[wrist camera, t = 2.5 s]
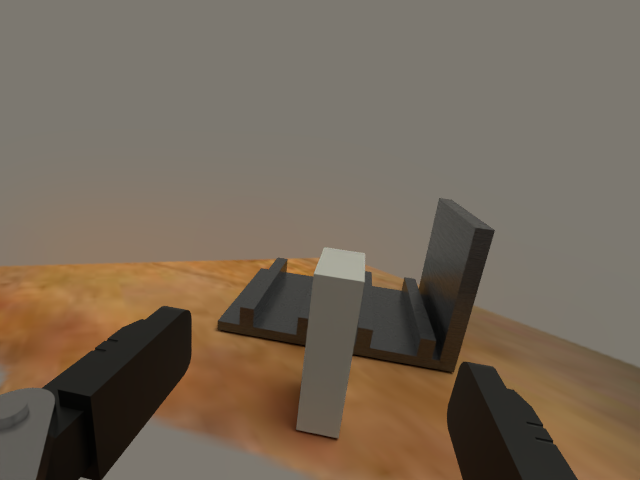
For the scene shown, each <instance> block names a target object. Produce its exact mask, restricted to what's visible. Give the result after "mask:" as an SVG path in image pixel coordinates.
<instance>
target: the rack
mask: <svg viewBox="0 0 640 480" xmlns="http://www.w3.org/2000/svg"><path fill="white" fill-rule="evenodd" d="M494 231H495V230H494V229H492V228H491V227H489V226H488V225H487V224H485V223H484V222H482V221H481V220H479V219H478V218H477V217H475V216H474V215H472V214H471V213H469V212H468V211H467V210H465V209H464V208H462V207H461V206H459V205H458V204H457V203H455V202H454V201H452V200H449V199H441V198H439V202H438V206H437V211H436V215H435V219H434V224H433V228H432V233H431V238H430V242H429V246H428V250H427V255H426V259H425V263H424V268H423V272H422V277H421V281H420V286H419V289H418V286H417V283H416V280H415V279H411V278H404V282H403V287H402V291H400V290H393V289H387V288H381V287H375V286H372V275H371V272H367V271H365V283H364V289H363V295H362V301H361V307H360V313H359V319H358V325H357V330H356V336H355V342H354V348H353V354H356V355H361V356H367V357H372V358H378V359H383V360H389V361H394V362H400V363H405V364H411V365H416V366H422V367H427V368H433V369H438V370H444V371H449V372H454V370H455V366H456V363H457V359H458V356H459V352H460V349H461V345H462V342H463V339H464V335H465V332H466V328H467V325H468V321H469V318H470V314H471V311H472V307H473V304H474V300H475V297H476V294H477V290H478V286H479V283H480V279H481V276H482V272H483V269H484V266H485V262H486V259H487V255H488V252H489V249H490V245H491V242H492V238H493V234H494ZM286 271H287V259H283V258H277V259H276V260H275V262H274V263H273V264H272V266H271V267H270V268H269V270H268V269H262V268H261V269H260V270H259V272H258V273H257V274H256V275H255V277H254V278H253V279H252V280H251V281H250V283H249V284H248V285H247V286H246V287H245V289H244V290H243V291H242V292H241V293H240V295H239V296H238V297H237V298H236V299H235V301H234V302H233V303H232V304H231V306H230V307H229V308H228V309H227V310H226V312H225V313H224V314H223V315H222V316H221V318H220V319H219V320H218V330H224V331H229V332H235V333H240V334H246V335H251V336H257V337H262V338H268V339H273V340H279V341H284V342H290V343H295V344H301V345H306V338H307V329H308V321H309V312H310V303H311V294H312V285H313V277H312V276H306V275H300V274H293V273H287V272H286Z"/></svg>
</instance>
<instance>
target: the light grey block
mask: <svg viewBox="0 0 640 480" xmlns="http://www.w3.org/2000/svg"><path fill="white" fill-rule="evenodd" d="M364 283H365V253H360V252H353V251H346V250H339V249H333V248H326V247H325V248H324V250H323V252H322V255H321V257H320V260H319V262H318V265H317V267H316V270H315V272H314V277H313V285H312V294H311V303H310V312H309V321H308V329H307V338H306V347H305V356H304V364H303V373H302V382H301V391H300V400H299V408H298V417H297V426H296V430H300V431H305V432H310V433H315V434H319V435H324V436H329V437H334V438H338V437H339V431H340V426H341V420H342V414H343V408H344V402H345V396H346V390H347V384H348V378H349V372H350V366H351V360H352V354H353V348H354V342H355V336H356V330H357V325H358V319H359V313H360V307H361V301H362V295H363V289H364Z"/></svg>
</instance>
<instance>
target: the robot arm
mask: <svg viewBox="0 0 640 480" xmlns="http://www.w3.org/2000/svg"><path fill="white" fill-rule="evenodd" d="M191 323H192V319H191V313H190V311H189V310H184V309H179V308H173V307H168V306H163V307H161V308H159V309H158V310H157V311H156V312H154V313H153V314H152V315H150V316H149V317H148V318H147V319H145V320H143V319H141V320H139V321H136V322H134V323H132V324H129V325H127V326H125V327H122V328H121V329H120V330H118V331H117V332H116V333H114V334H113V335H112V336H110V337H109V338H108V340H107V341H104V342H102V343H101V344H100V345H99V346H97V347H96V348H95V350H94V351H91V352H89V353H88V354H87V355H85V356H84V357H83V358H81V359H80V360H79V361H77V362H76V363H75V364H73V365H72V366H71V367H69V368H68V369H67V370H65V371H64V372H63V373H61V374H60V375H59V376H57V377H56V378H55V379H53V380H52V381H51V382H49V383H48V384H47V385H45V386H44V387H43V388H25V389H19V390H15V391H11V392H8V393H5V394H2V395H0V480H78V479H79V478H80V477H83V478H87V479H91V480H102V479H103V477H104V476H105V475H106V474H107V472H108V471H109V470H110V468H111V467H112V466H113V465H114V463H115V462H116V461H117V460H118V458H119V457H120V456H121V455H122V453H123V452H124V451H125V449H126V448H127V447H128V446H129V444H130V443H131V442H132V441H133V439H134V438H135V437H136V436H137V434H138V433H139V432H140V430H141V429H142V428H143V427H144V425H145V424H146V423H147V422H148V420H149V419H150V418H151V417H152V415H153V414H154V413H155V411H156V410H157V409H158V408H159V406H160V405H161V404H162V403H163V401H164V400H165V399H166V397H167V396H168V395H169V394H170V392H171V391H172V390H173V389H174V387H175V386H176V385H177V383H178V382H179V381H180V380H181V378H182V377H183V376H184V374H185V373H186V371H187V369H188V366H189V364H190V360H191ZM447 424H448V430H449V434H450V437H451V441H452V444H453V448H454V451H455V454H456V458H457V461H458V465H459V468H460V472H461V475H462V478H463V480H578V479H577V478H576V476H575V474H574V473H573V471H572V470H571V468H570V467H569V465H568V463H567V462H566V460H565V459H564V457H563V456H562V454H561V452H560V451H559V449H558V448H557V446H556V445H554V444H553V440H552V438H551V437H550V435H549V433H548V432H547V430H546V429H544V428H543V424H542V422H541V421H540V419H539V418H538V416H537V415H536V413H535V411H534V410H533V408H532V407H531V406H530V405H529V404H528V403H527V402H526V401H525V400H524V399H523V398H522V397H521V396H520V395H519V394H517V393H516V392H515V391H514V390H511V389H507V388H506V386H505V385H504V383H503V381H502V380H501V378H500V376H499V374H498V373H497V371H496V369H495V368H494V367H492V366H486V365H481V364H475V363H470V362H463V363H462V364H461V365H460V367H459V371H458V374H457V377H456V381H455V384H454V387H453V391H452V394H451V398H450V401H449V404H448V410H447Z"/></svg>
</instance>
